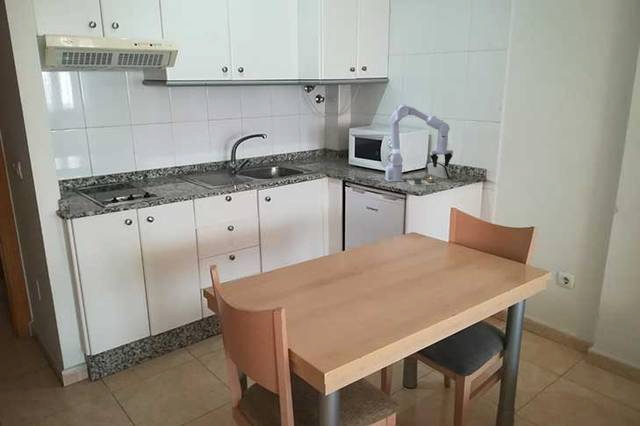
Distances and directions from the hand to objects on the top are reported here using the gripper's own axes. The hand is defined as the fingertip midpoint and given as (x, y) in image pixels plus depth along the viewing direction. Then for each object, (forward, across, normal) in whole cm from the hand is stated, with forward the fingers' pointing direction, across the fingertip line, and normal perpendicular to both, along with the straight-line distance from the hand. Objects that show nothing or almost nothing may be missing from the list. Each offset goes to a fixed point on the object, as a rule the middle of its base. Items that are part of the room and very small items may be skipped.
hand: (440, 166), depth 284 cm
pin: (+6, -8, -4) cm, 11 cm away
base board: (+9, -13, -1) cm, 15 cm away
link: (+8, -7, 0) cm, 11 cm away
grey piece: (+9, +8, +14) cm, 18 cm away
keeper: (+9, -17, -3) cm, 19 cm away
